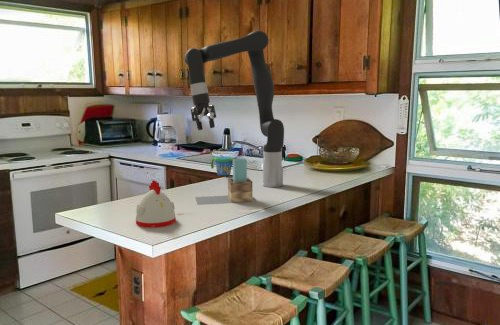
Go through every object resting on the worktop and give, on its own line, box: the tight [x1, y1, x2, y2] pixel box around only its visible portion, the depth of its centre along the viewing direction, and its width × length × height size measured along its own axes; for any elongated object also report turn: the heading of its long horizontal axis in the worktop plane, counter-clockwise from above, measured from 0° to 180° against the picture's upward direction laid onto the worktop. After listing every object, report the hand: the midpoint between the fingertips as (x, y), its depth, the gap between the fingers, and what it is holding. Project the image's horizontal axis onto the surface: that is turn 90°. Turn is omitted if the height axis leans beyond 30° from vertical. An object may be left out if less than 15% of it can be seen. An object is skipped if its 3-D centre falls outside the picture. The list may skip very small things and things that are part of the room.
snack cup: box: [210, 155, 234, 177], centre depth 248 cm, size 16×10×10 cm
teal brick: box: [232, 158, 248, 182], centre depth 183 cm, size 5×5×10 cm
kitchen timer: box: [135, 179, 177, 229], centre depth 154 cm, size 14×14×15 cm
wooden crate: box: [227, 177, 254, 203], centre depth 184 cm, size 9×9×8 cm
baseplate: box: [194, 195, 256, 206], centre depth 185 cm, size 24×14×1 cm, turn 101°
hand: (206, 128), depth 199 cm, fingers open, 8 cm apart
